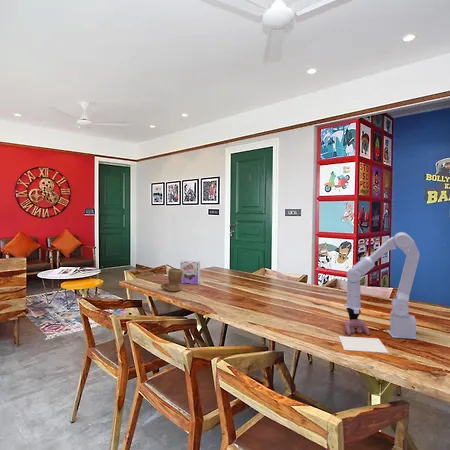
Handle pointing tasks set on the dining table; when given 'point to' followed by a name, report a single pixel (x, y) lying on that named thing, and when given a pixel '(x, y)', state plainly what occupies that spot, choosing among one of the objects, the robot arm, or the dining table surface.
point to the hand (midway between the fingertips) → (353, 324)
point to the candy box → (190, 272)
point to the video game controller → (355, 322)
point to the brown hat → (173, 280)
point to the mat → (362, 344)
